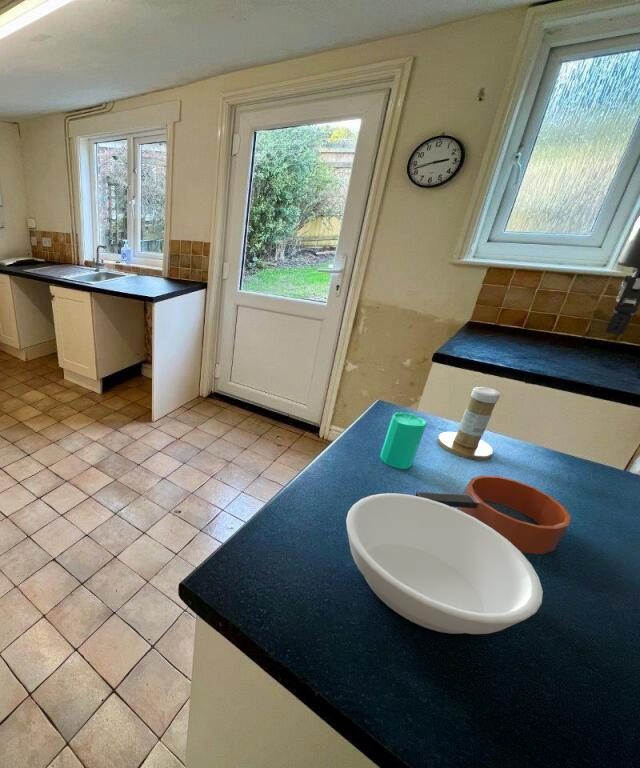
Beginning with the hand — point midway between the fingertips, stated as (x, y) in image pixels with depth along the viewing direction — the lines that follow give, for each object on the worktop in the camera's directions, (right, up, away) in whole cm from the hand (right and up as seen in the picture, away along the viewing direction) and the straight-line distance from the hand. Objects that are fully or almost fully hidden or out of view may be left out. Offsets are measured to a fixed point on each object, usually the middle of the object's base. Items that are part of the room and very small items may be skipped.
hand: (615, 329), depth 78 cm
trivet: (-15, -25, +17) cm, 34 cm away
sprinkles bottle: (-15, -24, +16) cm, 33 cm away
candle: (-34, -27, +12) cm, 45 cm away
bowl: (-49, -41, -16) cm, 66 cm away
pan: (-30, -35, -5) cm, 46 cm away
